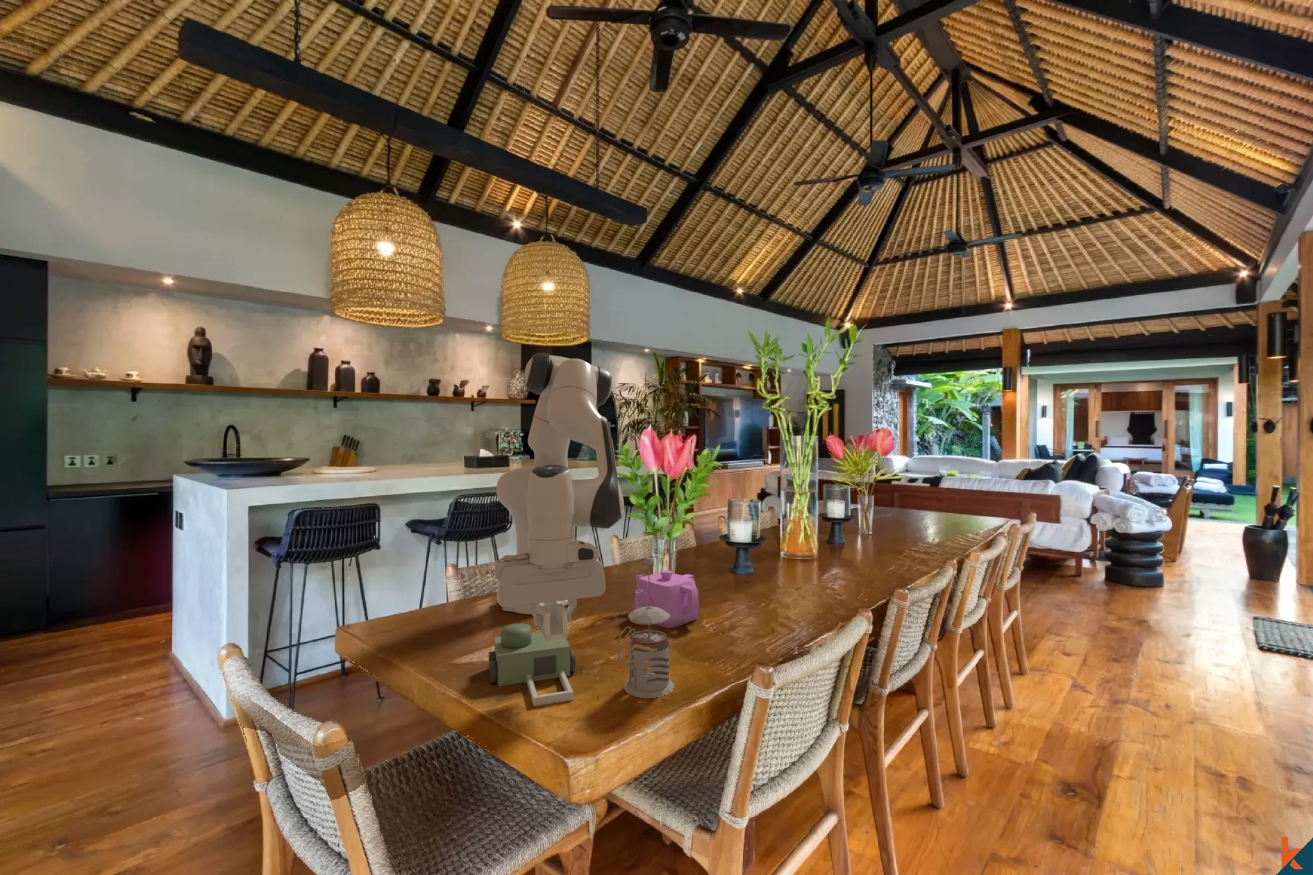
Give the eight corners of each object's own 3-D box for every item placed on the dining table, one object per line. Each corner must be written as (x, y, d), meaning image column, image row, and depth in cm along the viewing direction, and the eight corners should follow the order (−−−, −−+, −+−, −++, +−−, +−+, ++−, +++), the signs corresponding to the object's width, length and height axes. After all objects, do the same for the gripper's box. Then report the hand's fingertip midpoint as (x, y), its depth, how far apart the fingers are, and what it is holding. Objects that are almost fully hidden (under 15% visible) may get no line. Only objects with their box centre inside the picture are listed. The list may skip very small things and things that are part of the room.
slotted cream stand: (538, 626, 111) (538, 601, 111) (559, 624, 113) (558, 598, 113) (545, 640, 104) (545, 613, 104) (567, 637, 105) (567, 610, 105)
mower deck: (488, 666, 119) (488, 623, 119) (566, 655, 125) (566, 615, 125) (495, 712, 100) (495, 661, 100) (587, 697, 106) (587, 649, 106)
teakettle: (701, 629, 141) (701, 579, 141) (632, 629, 141) (632, 579, 141) (696, 607, 158) (696, 563, 158) (634, 607, 158) (635, 563, 158)
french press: (684, 688, 109) (684, 559, 109) (633, 706, 103) (633, 567, 102) (655, 670, 117) (655, 549, 117) (606, 685, 111) (606, 557, 110)
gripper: (496, 559, 102) (497, 637, 102) (607, 549, 109) (608, 622, 109) (493, 552, 108) (494, 625, 108) (598, 543, 115) (599, 612, 115)
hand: (552, 623), depth 109 cm, fingers closed on slotted cream stand, 4 cm apart
